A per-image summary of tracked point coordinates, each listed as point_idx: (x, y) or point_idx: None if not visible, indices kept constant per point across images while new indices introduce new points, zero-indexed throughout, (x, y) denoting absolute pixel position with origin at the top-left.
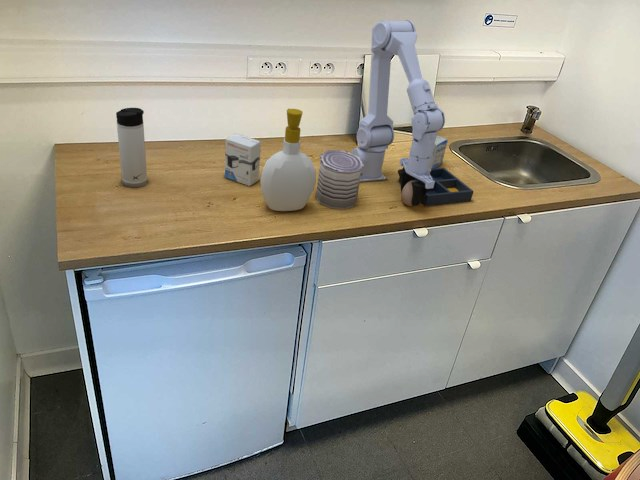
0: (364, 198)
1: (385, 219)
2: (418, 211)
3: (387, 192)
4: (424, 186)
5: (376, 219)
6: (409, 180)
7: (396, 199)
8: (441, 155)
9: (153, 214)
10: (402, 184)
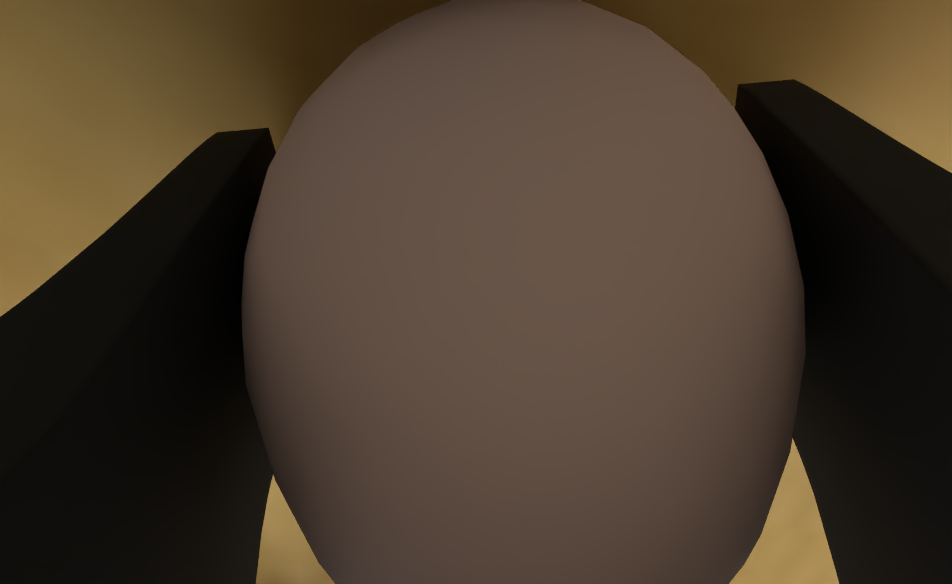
0: (271, 563)
1: (799, 517)
2: (796, 20)
3: (12, 295)
4: None
5: (760, 576)
6: (163, 502)
7: None
8: None
9: None
10: (257, 526)
